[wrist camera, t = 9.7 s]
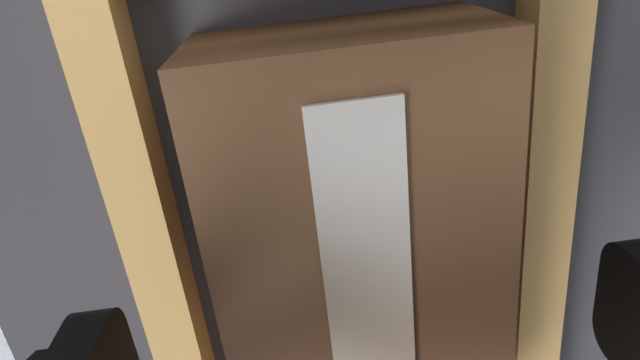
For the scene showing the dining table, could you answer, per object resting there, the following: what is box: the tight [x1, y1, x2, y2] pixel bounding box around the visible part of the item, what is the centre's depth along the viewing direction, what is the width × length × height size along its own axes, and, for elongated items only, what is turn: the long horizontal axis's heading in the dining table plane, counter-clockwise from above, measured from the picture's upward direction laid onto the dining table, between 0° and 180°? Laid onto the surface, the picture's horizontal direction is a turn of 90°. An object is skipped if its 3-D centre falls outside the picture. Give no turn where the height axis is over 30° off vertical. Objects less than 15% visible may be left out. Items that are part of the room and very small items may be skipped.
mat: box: [0, 0, 640, 360], centre depth 11 cm, size 16×20×2 cm
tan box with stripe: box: [157, 1, 535, 360], centre depth 10 cm, size 9×5×3 cm, turn 6°
